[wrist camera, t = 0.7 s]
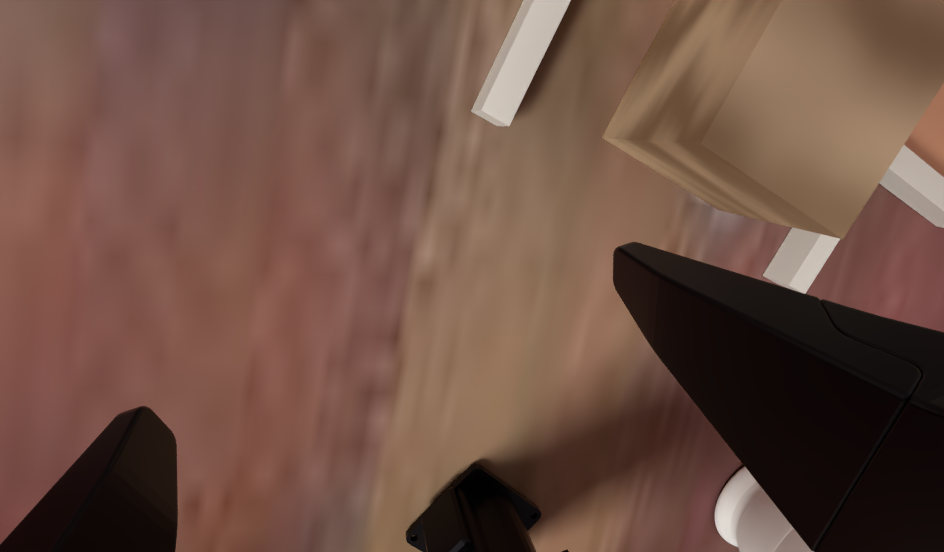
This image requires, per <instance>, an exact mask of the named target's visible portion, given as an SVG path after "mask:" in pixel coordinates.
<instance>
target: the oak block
mask: <svg viewBox="0 0 944 552" xmlns="http://www.w3.org/2000/svg"><path fill="white" fill-rule="evenodd" d="M943 83H944V0H675V1H674V3H673V5H672V7H671V9H670V11H669V13H668V14H667V16H666V18H665V20H664V22H663V24H662V26H661V28H660V29H659V31H658V33H657V35H656V37H655V39H654V41H653V43H652V44H651V46H650V48H649V50H648V52H647V54H646V56H645V58H644V59H643V61H642V63H641V65H640V67H639V69H638V71H637V73H636V74H635V76H634V78H633V80H632V82H631V84H630V86H629V88H628V89H627V91H626V93H625V95H624V97H623V99H622V101H621V102H620V104H619V106H618V108H617V110H616V112H615V114H614V116H613V117H612V119H611V121H610V123H609V125H608V127H607V129H606V131H605V132H604V134H603V136H602V138H603V139H604V140H606V141H608V142H609V143H611V144H612V145H614V146H616V147H617V148H619V149H621V150H622V151H624V152H625V153H627V154H629V155H630V156H632V157H634V158H635V159H637V160H638V161H640V162H642V163H643V164H645V165H647V166H648V167H650V168H651V169H653V170H655V171H656V172H658V173H659V174H661V175H663V176H664V177H666V178H668V179H669V180H671V181H672V182H674V183H676V184H677V185H679V186H681V187H682V188H684V189H685V190H687V191H689V192H690V193H692V194H694V195H695V196H697V197H698V198H700V199H702V200H703V201H705V202H707V203H708V204H710V205H711V206H713V207H715V208H716V209H718V210H721V211H725V212H729V213H734V214H738V215H742V216H746V217H751V218H755V219H759V220H763V221H768V222H772V223H776V224H780V225H784V226H789V227H793V228H797V229H801V230H806V231H810V232H814V233H818V234H823V235H827V236H831V237H835V238H840V239H843V238H844V237H845V235H846V233H847V232H848V230H849V229H850V227H851V226H852V224H853V223H854V221H855V220H856V218H857V216H858V215H859V213H860V212H861V210H862V209H863V207H864V206H865V204H866V203H867V201H868V199H869V198H870V196H871V195H872V193H873V192H874V190H875V189H876V187H877V185H878V184H879V182H880V181H881V179H882V178H883V176H884V175H885V173H886V172H887V170H888V168H889V167H890V165H891V164H892V162H893V161H894V159H895V158H896V156H897V154H898V153H899V151H900V150H901V148H902V147H903V145H904V144H905V142H906V141H907V139H908V137H909V136H910V134H911V133H912V131H913V130H914V128H915V127H916V125H917V124H918V122H919V120H920V119H921V117H922V116H923V114H924V113H925V111H926V110H927V108H928V106H929V105H930V103H931V102H932V100H933V99H934V97H935V96H936V94H937V93H938V91H939V89H940V88H941V86H942V85H943Z"/></svg>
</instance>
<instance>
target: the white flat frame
mask: <svg viewBox="0 0 944 552" xmlns="http://www.w3.org/2000/svg"><path fill="white" fill-rule="evenodd" d="M570 1H571V0H523V2H522V5H521V7H520V9H519V11H518V13H517V15H516V17H515V19H514V21H513V24H512V26H511V28H510V30H509V32H508V34H507V36H506V38H505V40H504V43H503V45H502V47H501V49H500V51H499V53H498V55H497V57H496V59H495V62H494V64H493V66H492V68H491V70H490V72H489V74H488V76H487V78H486V81H485V83H484V85H483V87H482V89H481V91H480V93H479V95H478V97H477V100H476V102H475V104H474V106H473V108H472V110H471V112H473V113H475V114H476V115H478V116H480V117H482V118H484V119H485V120H487V121H489V122H491V123H492V124H494V125H496V126H510V124H511V122H512V120H513V117H514V115H515V113H516V111H517V109H518V107H519V105H520V103H521V101H522V99H523V97H524V95H525V93H526V91H527V89H528V87H529V85H530V83H531V81H532V79H533V77H534V75H535V73H536V71H537V69H538V67H539V64H540V62H541V60H542V58H543V56H544V54H545V52H546V50H547V48H548V46H549V44H550V42H551V40H552V38H553V36H554V34H555V32H556V30H557V28H558V26H559V24H560V22H561V20H562V18H563V16H564V13H565V11H566V9H567V7H568V5H569V3H570ZM879 184H881V185H882V186H883V187H885V188H886V189H887V190H889V191H890V192H891V193H893V194H894V195H895V196H897V197H898V198H899V199H901V200H902V201H903V202H905V203H906V204H907V205H909V206H910V207H911V208H913V209H914V210H915V211H917V212H918V213H919V214H921V215H922V216H923V217H925V218H926V219H927V220H929V221H930V222H931V223H933V224H934V225H935V226H938V227H943V228H944V83H943V85H942V86H941V88H940V89H939V91H938V93H937V94H936V96H935V97H934V99H933V100H932V102H931V103H930V105H929V106H928V108H927V110H926V111H925V113H924V114H923V116H922V117H921V119H920V120H919V122H918V124H917V125H916V127H915V128H914V130H913V131H912V133H911V134H910V136H909V137H908V139H907V141H906V142H905V144H904V145H903V147H902V148H901V150H900V151H899V153H898V154H897V156H896V158H895V159H894V161H893V162H892V164H891V165H890V167H889V168H888V170H887V172H886V173H885V175H884V176H883V178H882V179H881V181H880V182H879ZM839 240H840V238H835V237H831V236H827V235H823V234H818V233H814V232H810V231H806V230H801V229H797V228H793V227H792V229H791V230H790V232H789V234H788V235H787V237H786V238H785V240H784V242H783V243H782V245H781V246H780V248H779V250H778V251H777V253H776V255H775V256H774V258H773V259H772V261H771V263H770V264H769V266H768V268H767V269H766V271H765V272H764V274H763V276H764V277H766V278H768V279H769V280H771V281H773V282H775V283H777V284H779V285H781V286H784V287H787V288H789V289H792V290H795V291H798V292H801V293H804V294H805V293H806V292H807V290H808V288H809V287H810V285H811V284H812V282H813V281H814V279H815V277H816V276H817V274H818V273H819V271H820V270H821V268H822V266H823V265H824V263H825V262H826V260H827V259H828V257H829V256H830V254H831V252H832V251H833V249H834V248H835V246H836V245H837V243H838V241H839Z"/></svg>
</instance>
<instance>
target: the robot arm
mask: <svg viewBox="0 0 944 552" xmlns="http://www.w3.org/2000/svg"><path fill="white" fill-rule="evenodd" d="M613 283H614V286H615V289H616V291H617V293H618V294H619V296H620V298H621V299H622V301H623V302H624V304H625V306H626V307H627V309H628V310H629V312H630V314H631V315H632V317H633V319H634V320H635V322H636V323H637V325H638V327H639V328H640V330H641V332H642V333H643V335H644V336H645V338H646V340H647V341H648V343H649V344H650V346H651V347H652V349H653V350H654V351H655V353H656V354H657V355H658V357H659V358H660V359H661V361H662V362H663V363H664V364H665V366H666V367H667V368H668V370H669V371H670V372H671V373H672V375H673V376H674V377H675V378H676V380H677V381H678V382H679V383H680V385H681V386H682V387H683V389H684V390H685V391H686V392H687V394H688V395H689V396H690V397H691V399H692V400H693V401H694V403H695V404H696V405H697V406H698V408H699V409H700V410H701V411H702V413H703V414H704V415H705V416H706V418H707V419H708V420H709V422H710V423H711V424H712V425H713V427H714V428H715V429H716V430H717V432H718V433H719V434H720V435H721V437H722V438H723V439H724V441H725V442H726V443H727V444H728V446H729V447H730V448H731V449H732V451H733V452H734V453H735V455H736V456H737V457H738V458H739V460H740V461H741V462H742V463H743V465H744V466H745V467H746V468H747V470H748V471H749V472H750V474H751V475H752V476H753V477H754V479H755V480H756V481H757V482H758V484H759V485H760V486H761V487H762V489H763V490H764V491H765V493H766V494H767V495H768V496H769V498H770V499H771V500H772V501H773V503H774V504H775V505H776V507H777V508H778V509H779V510H780V512H781V513H782V514H783V515H784V517H785V518H786V519H787V520H788V522H789V523H790V524H791V526H792V527H793V528H794V529H795V531H796V532H797V533H798V534H799V536H800V537H801V538H802V539H803V541H804V542H805V543H806V545H807V546H808V547H809V548H810V550H811V551H814V552H944V332H941V331H936V330H932V329H928V328H924V327H920V326H916V325H912V324H909V323H905V322H901V321H897V320H893V319H889V318H885V317H881V316H878V315H875V314H871V313H868V312H864V311H861V310H857V309H854V308H850V307H847V306H844V305H840V304H837V303H834V302H831V301H827V300H824V299H822V300H819V298H817V297H814V296H811V295H807V294H804V293H801V292H798V291H794V290H791V289H788V288H785V287H781V286H778V285H775V284H771V283H768V282H765V281H762V280H758V279H755V278H752V277H749V276H745V275H742V274H739V273H736V272H732V271H729V270H726V269H722V268H719V267H716V266H713V265H709V264H706V263H703V262H700V261H696V260H693V259H690V258H687V257H683V256H680V255H677V254H673V253H670V252H667V251H664V250H660V249H657V248H654V247H651V246H647V245H644V244H641V243H637V242H631V243H628V244H625V245H622V246H619V247H617V248H616V249H615V251H614V255H613ZM475 472H479V473H478V474H476V475H473V474H474V473H475ZM533 513H534V514H533ZM531 514H532V515H531ZM540 517H541V512H540V510H539V508H538V507H537V506H536V505H535V504H533V503H532V502H531V501H529V500H528V499H527V498H525V497H524V496H522V495H521V494H520V493H518V492H517V491H515V490H514V489H513V488H511V487H510V486H509V485H507V484H506V483H504V482H503V481H502V480H500V479H499V478H497V477H496V476H495V475H493V474H492V473H491V472H489V471H488V470H486V469H485V468H484V467H482V466H481V465H479V464H475V465H472V466H471V467H469V468H468V469H467V470H466V471H465V472H464V473H463V474H462V475H461V476H460V477H459V478H458V479H457V480H456V481H455V482H454V483H453V485H452V486H451V487H450V488H449V489H447V490H446V491H445V492H444V493H443V494H442V495H441V496H440V497H439V498H438V499H437V500H436V501H435V502H434V503H433V504H432V505H431V506H430V507H429V508H428V509H427V510H426V511H425V512H424V513H423V514H422V516H421V517H420V518H419V519H418V520H417V521H416V522H415V523H414V524H413V525H412V526H411V527H410V528H409V529H408V530H407V531H406V540H407V542H408V543H409V544H410V545H412V546H414V547H415V548H417V549H419V550H421V551H422V552H536V550H535V547H534V545H533V543H532V541H531V538H530V536H529V534H528V530H529V529H530V528H531V527H532V526H533V525H534V524H535V523H536V522H537V521H538V520H539V519H540ZM177 523H178V501H177V446H176V439H175V436H174V434H173V433H172V431H171V430H170V429H169V428H168V427H167V426H166V425H165V424H164V422H163V421H162V420H161V419H160V418H159V417H158V416H157V415H156V414H155V413H154V412H153V411H152V410H151V409H150V408H148V407H146V406H141V407H137V408H134V409H131V410H128V411H125V412H123V413H120V414H119V415H117V416H116V417H115V418H114V419H113V421H112V422H111V423H110V424H109V425H108V426H107V427H106V428H105V429H104V431H103V432H102V433H101V434H100V435H99V436H98V437H97V438H96V439H95V440H94V442H93V443H92V444H91V445H90V446H89V447H88V448H87V449H86V450H85V452H84V453H83V454H82V455H81V456H80V457H79V458H78V459H77V460H76V461H75V463H74V464H73V465H72V466H71V467H70V468H69V469H68V470H67V471H66V473H65V474H64V475H63V476H62V477H61V478H60V479H59V480H58V481H57V482H56V484H55V485H54V486H53V487H52V488H51V489H50V490H49V491H48V492H47V494H46V495H45V496H44V497H43V498H42V499H41V500H40V501H39V502H38V503H37V505H36V506H35V507H34V508H33V509H32V510H31V511H30V512H29V513H28V515H27V516H26V517H25V518H24V519H23V520H22V521H21V522H20V523H19V524H18V526H17V527H16V528H15V529H14V530H13V531H12V532H11V533H10V534H9V536H8V537H7V538H6V539H5V540H4V541H3V542H2V543H1V544H0V552H175V548H176V538H177ZM413 535H416V536H413ZM562 552H569V551H568V550H565V551H562Z"/></svg>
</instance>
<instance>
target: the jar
mask: <svg viewBox="0 0 944 552" xmlns="http://www.w3.org/2000/svg"><path fill="white" fill-rule="evenodd" d="M715 524H716V528H717V530H718V532H719V534H720V535H721V536H722V537H723V538H724V539H725V540H726V541H727V542H729V543H730V544H732V545H734V546H736V547H738V548H739V551H740V552H814V551H811V550H810V548H809V547H808V546H807V545H806V543H805V542H804V541H803V539H802V538H801V537H800V536H799V534H798V533H797V532H796V531H795V529H794V528H793V527H792V526H791V524H790V523H789V522H788V520H787V519H786V518H785V517H784V515H783V514H782V513H781V512H780V510H779V509H778V508H777V507H776V505H775V504H774V503H773V501H772V500H771V499H770V498H769V496H768V495H767V494H766V493H765V491H764V490H763V489H762V487H761V486H760V485H759V484H758V482H757V481H756V480H755V479H754V477H753V476H752V475H751V474H750V472H749V471H748V470H747V468H746V467H745V466H744V467H743V468H742V469H740V470H739V471H738V472H737V473H736V474H735V475H734V476H733V477H732V478H731V479H730V480H729V481H728V483H727V484H726V485H725V487H724V488H723V490H722V492H721V494H720V496H719V498H718V501H717V504H716V508H715Z"/></svg>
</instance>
